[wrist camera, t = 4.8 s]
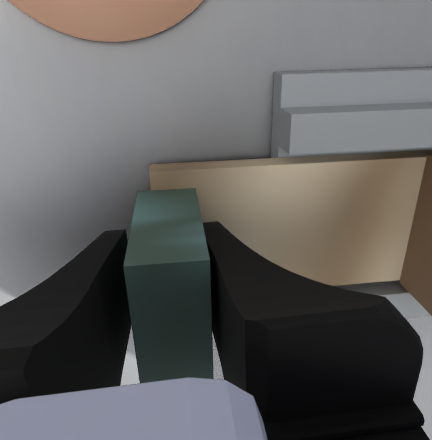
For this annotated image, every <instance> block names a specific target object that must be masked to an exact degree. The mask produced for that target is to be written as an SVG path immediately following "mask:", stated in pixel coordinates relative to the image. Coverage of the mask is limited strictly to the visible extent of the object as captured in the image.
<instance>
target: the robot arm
mask: <svg viewBox="0 0 432 440" xmlns="http://www.w3.org/2000/svg"><path fill="white" fill-rule="evenodd" d="M203 228H204V233H205V238H206V243H207V248H208V253H209V258H210V279H211V313H212V331H213V335H214V339H215V343H216V346H217V350H218V354H219V358H220V362H221V366H222V371H223V376H224V380H220V379H205V378H190V377H187V378H179V379H171V380H163V381H155V382H147V383H139V384H131V385H123V386H120V383H121V377H122V370H123V365H124V360H125V355H126V350H127V345H128V340H129V334H130V329H131V317H130V310H129V303H128V296H127V289H126V282H125V275H124V268H123V265H124V260H125V255H126V250H127V244H128V241H127V234H126V230H115V231H105V232H104V233H102V234H101V235H100V236H99V237H98V238H97V239H95V240H94V241H93V242H92V243H91V244H90V245H89V246H88V247H86V248H85V249H84V250H83V251H82V252H81V253H80V254H78V255H77V256H76V257H75V258H74V259H73V260H71V261H70V262H69V263H67V264H66V265H65V266H64V267H62V268H61V269H60V270H58V271H57V272H56V273H55V274H53V275H52V276H51V277H49V278H48V279H46V280H45V281H43V282H42V283H40V284H39V285H37V286H36V287H34V288H32V289H31V290H29V291H28V292H26V293H24V294H23V295H21V296H19V297H17V298H16V299H14V300H12V301H10V302H8V303H6V304H4V305H2V306H0V440H430V439H429V438H428V436H427V435H426V433H425V432H424V430H423V429H422V427H421V426H423V424H424V417H423V414H422V413H421V411H420V410H419V409H418V407H417V406H416V404H415V403H414V401H413V398H414V394H415V390H416V386H417V382H418V378H419V374H420V370H421V366H422V359H423V347H422V343H421V340H420V336H419V335H418V334H417V332H416V331H415V330H414V329H413V327H412V326H411V325H410V324H409V322H408V321H407V320H406V319H405V318H404V316H403V315H402V314H401V313H400V312H399V311H398V309H397V308H396V307H395V306H394V305H393V304H392V303H391V302H390V301H389V300H388V299H387V298H386V297H384V296H379V295H373V294H368V293H362V292H357V291H351V290H346V289H342V288H339V287H335V286H331V285H327V284H324V283H321V282H318V281H314V280H311V279H309V278H306V277H304V276H301V275H298V274H296V273H293V272H291V271H289V270H287V269H285V268H283V267H281V266H279V265H277V264H275V263H273V262H271V261H269V260H267V259H266V258H264V257H262V256H261V255H259V254H258V253H256V252H255V251H253V250H252V249H250V248H249V247H248V246H246V245H245V244H244V243H242V242H241V241H240V240H239V239H238V238H236V237H235V236H234V235H233V234H232V233H231V232H230V231H228V230H227V229H226V228H225V227H224V226H223V225H222V224H221V223H220V222H218V221H214V222H203Z"/></svg>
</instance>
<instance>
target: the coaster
mask: <svg viewBox="0 0 432 440" xmlns="http://www.w3.org/2000/svg"><path fill="white" fill-rule="evenodd" d="M8 1H9V2H11V3H12V4H13V5H14V6H16V7H17V8H18V9H19V10H21V11H22V12H24V13H25V14H27V15H29V16H30V17H32V18H33V19H35V20H37V21H38V22H40V23H42V24H44V25H46V26H48V27H50V28H52V29H55V30H57V31H59V32H62V33H65V34H68V35H71V36H74V37H77V38H82V39H88V40H93V41H105V42H120V41H131V40H137V39H141V38H145V37H149V36H152V35H154V34H157V33H159V32H162V31H164V30H166V29H168V28H170V27H171V26H173V25H175V24H177V23H178V22H180V21H181V20H183V19H184V18H185V17H186V16H188V15H189V14H190V13H191V12H193V11H194V10H195V9H196V8H197V7H198V6H199V5H200V4H201V3H202V2H203V1H204V0H8Z"/></svg>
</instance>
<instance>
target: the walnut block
mask: <svg viewBox="0 0 432 440" xmlns="http://www.w3.org/2000/svg"><path fill="white" fill-rule="evenodd" d="M399 283H400V284H401V285H402V286H403V287H404V288H405V289H406V290H407V291H408V292H409V293H410V294H411V295H412V296H413V297H414V298H415V299H416V300H417V301H418V302H419V303H420V304H421V305H422V306H423V308H424V309H425V310H426V311H427V312H428V313H429V314H430V315H431V316H432V154H427V158H426V163H425V167H424V172H423V176H422V181H421V185H420V190H419V194H418V199H417V204H416V208H415V213H414V217H413V222H412V226H411V231H410V235H409V240H408V244H407V249H406V254H405V258H404V263H403V267H402V272H401V276H400V281H399Z"/></svg>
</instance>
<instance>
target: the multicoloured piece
mask: <svg viewBox="0 0 432 440" xmlns="http://www.w3.org/2000/svg"><path fill="white" fill-rule="evenodd" d="M427 154H432V150H417V151H398V152H379V153H359V154H340V155H321V156H302V157H283V158H263V159H244V160H225V161H206V162H186V163H167V164H150V166H149V180H150V190H151V191H137V197H136V202H135V207H134V213H133V218H132V223H131V228H130V234H129V239H128V244H127V250H126V255H125V260H124V265H123V268H124V275H125V282H126V289H127V296H128V303H129V310H130V317H131V324H132V331H133V338H134V345H135V352H136V359H137V365H138V373H139V380H140V383H147V382H155V381H163V380H171V379H179V378H187V377H190V378H205V379H213V346H212V313H211V279H210V258H209V253H208V248H207V243H206V238H205V233H204V228H203V222H214V221H218V222H220V223H221V224H222V225H223V226H224V227H225V228H226V229H227V230H228V231H230V232H231V233H232V234H233V235H234V236H235V237H236V238H238V239H239V240H240V241H241V242H242V243H244V244H245V245H246V246H248V247H249V248H250V249H252V250H253V251H255V252H256V253H258V254H259V255H261V256H262V257H264V258H266V259H267V260H269V261H271V262H273V263H275V264H277V265H279V266H281V267H283V268H285V269H287V270H289V271H291V272H293V273H296V274H298V275H301V276H304V277H306V278H309V279H311V280H314V281H318V282H321V283H324V284H327V285H331V286H337V285H349V284H360V283H372V282H383V281H395V280H400V276H401V272H402V267H403V263H404V258H405V254H406V249H407V244H408V240H409V235H410V231H411V226H412V222H413V217H414V213H415V208H416V204H417V199H418V194H419V190H420V185H421V181H422V176H423V172H424V167H425V163H426V158H427Z"/></svg>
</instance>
